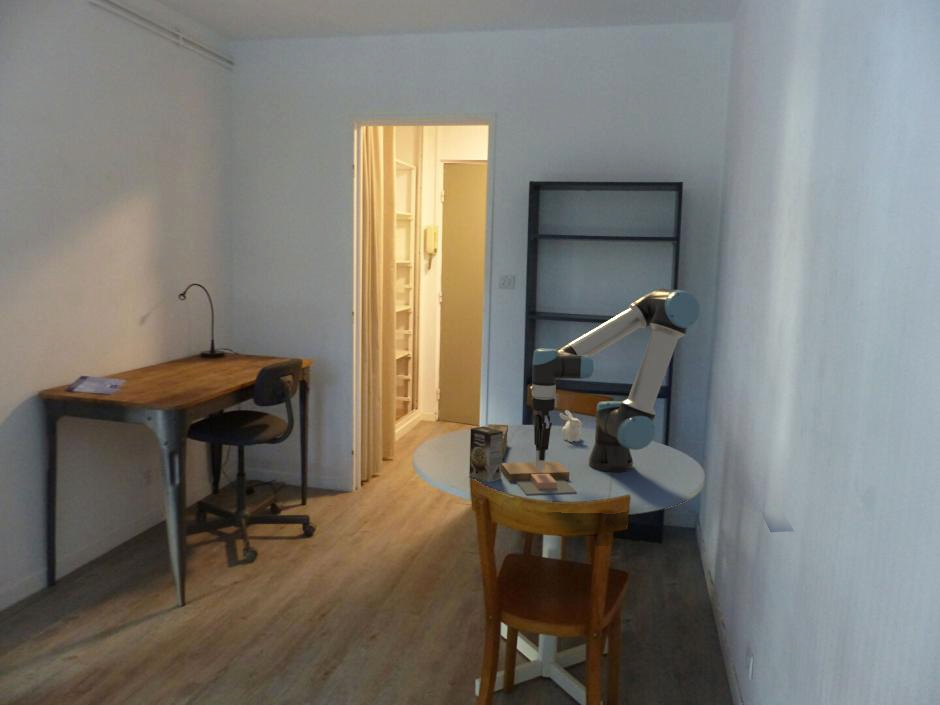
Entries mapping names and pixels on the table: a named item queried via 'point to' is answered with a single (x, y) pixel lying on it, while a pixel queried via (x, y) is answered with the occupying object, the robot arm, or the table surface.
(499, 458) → the coffee box
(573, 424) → the rabbit
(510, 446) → the table surface
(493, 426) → the block tower
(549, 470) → the brown wooden board
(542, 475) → the salmon orange flat block
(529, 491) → the mat
